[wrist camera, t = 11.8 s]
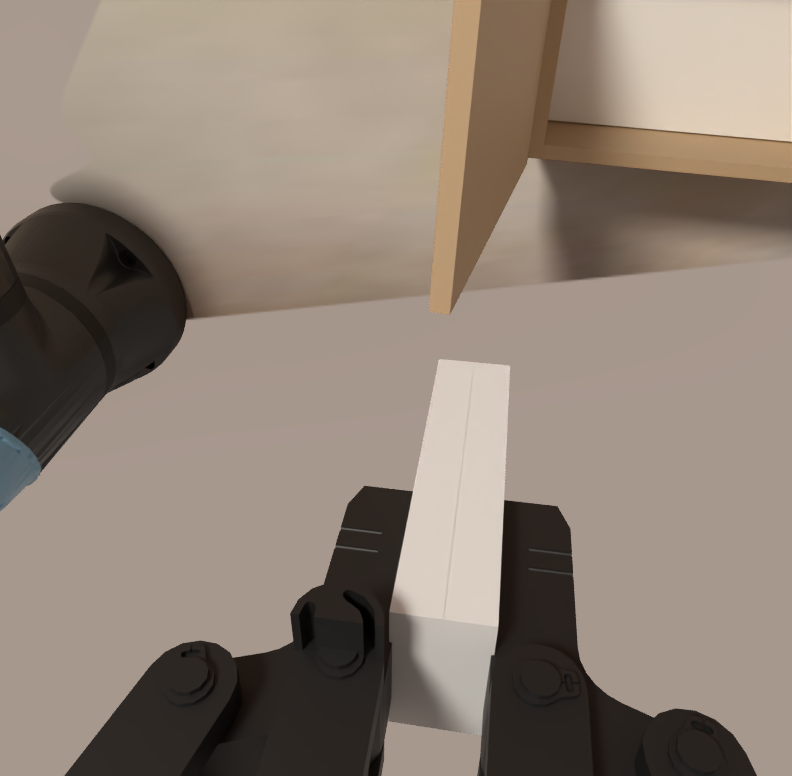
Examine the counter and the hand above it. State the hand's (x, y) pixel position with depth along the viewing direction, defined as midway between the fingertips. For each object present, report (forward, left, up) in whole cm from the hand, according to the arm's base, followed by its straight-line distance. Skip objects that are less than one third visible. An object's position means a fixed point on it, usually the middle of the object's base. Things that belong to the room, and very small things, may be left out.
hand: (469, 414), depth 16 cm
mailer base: (+10, +4, -36) cm, 37 cm away
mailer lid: (0, +4, -20) cm, 20 cm away
